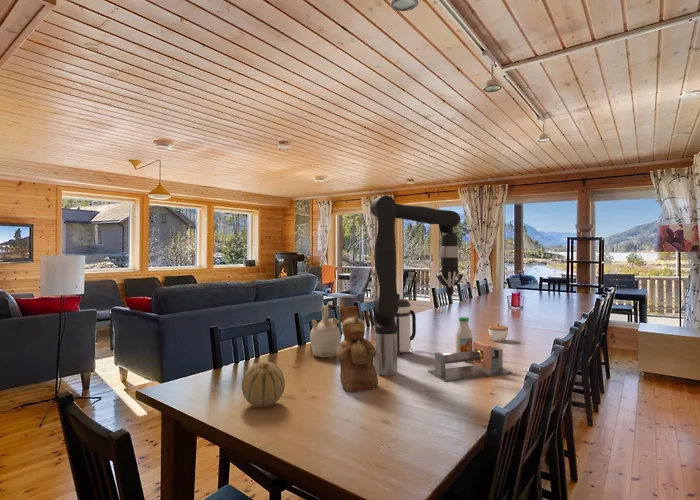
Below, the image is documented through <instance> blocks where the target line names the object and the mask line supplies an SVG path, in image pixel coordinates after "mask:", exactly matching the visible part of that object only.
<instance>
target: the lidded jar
mask: <svg viewBox="0 0 700 500" xmlns="http://www.w3.org/2000/svg"><path fill="white" fill-rule="evenodd" d="M488 335H489V338H490V339H491V340H492V341H493V342H500V343H501V342H504V341H505V340H506V339H507V337H508V335H509V327H508V326H506V325H500V324H499V323H497V324H494V325H488Z"/></svg>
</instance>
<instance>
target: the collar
mask: <svg viewBox="0 0 700 500" xmlns="http://www.w3.org/2000/svg"><path fill="white" fill-rule="evenodd" d="M491 347H492V345H490V344H487V343H485V342H482V341H472V351H483V359H481V360H476V361H472V363H473V365H477V366H479V367H481V368H483V369H491ZM482 360H483V361H482Z"/></svg>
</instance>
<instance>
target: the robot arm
mask: <svg viewBox="0 0 700 500" xmlns="http://www.w3.org/2000/svg"><path fill="white" fill-rule="evenodd" d="M370 213H371V214H372V215H373V216H374V217H376V218H377V234H376V238H375V242H374V250H373V251H374V252H373V254H374V256H373V257H374V268H375V273H376V276H377V281H378V285H379V286H378V287H379V288H378V289H379V292H378V296H376V298H375V299H374V302H373V324H374V325H373V326H374V328H375V329H374V330H375V331H374V333H375V339H374V340H375V350H376V354H375V356H374V358H373V365H374V368H375V371H376V374H377V376H386V377H387V376H395V375H397V374H398V356H397V326H396V323H395V317H394V316H395V315H396V314H397V312H398V308H399V303H398V296H397V294H398V289H397V247H396V230H395V229H396V227H395V226H396V219H400V220H406V221H407V220H408V221H411V222H417V223H423V224H427V225H438V227H439V233H440V237H441V243H440V244H441V248H440V268H441V269H440V273H438V274H436V275H435V277H436V278H437V279H438V280H437V281H439V282H440V284H441V286H444V287H445V292H446V295H447V296H448V297H449V296H451V297H452V296H453V295H454V287H455V286H458V284H459V283H460V282H461V280H462V279H463V277H464V274H463V273H460V270H459V247H458V245H459V244H458V234H457V233H455V232H454V227H456V226H457V227H458V225H459V224H460V222H461V216H460V215H459V213H458V212H457V211H453V210H448V209H437V208H432V207H429V206H422V205H408V204H400V203H396V201H395V200H394V198H393V197H392V196H391V195H389V194H388V195H387V194H386V195H381V196H379V197H377V198H375V199H373V200H372V201H371V204H370Z"/></svg>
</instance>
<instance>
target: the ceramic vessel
mask: <svg viewBox="0 0 700 500" xmlns="http://www.w3.org/2000/svg"><path fill="white" fill-rule="evenodd" d="M339 315H340V322H341V330H342V334H343V336H344V337H343V338H344V339H343V341H340V344H339V346H338V348H337V351H336V356H335V357H336V359H337V360H338V362H339V366H340V370H339V371H340V372H339V373H340V375H339V378H340V379H339V380H340V384H341V386H342V388H343V389H344V390H345V391H347V392H364V391H365V392H366V391H371V390H374V389H376V388H377V387H378V384H379V378H378V374H377V373H376V371H375V368H374V356H375V354H376V350H375V349H376V347H375V346H374V345H373V343H372V342H371V341H370V340H369V339H366V338H365V332H366V328H365V322H364V321H363V320H362V319H361V317H360V310H359V307H358V306H357V305H352V306H344V307H341V308H339Z"/></svg>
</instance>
